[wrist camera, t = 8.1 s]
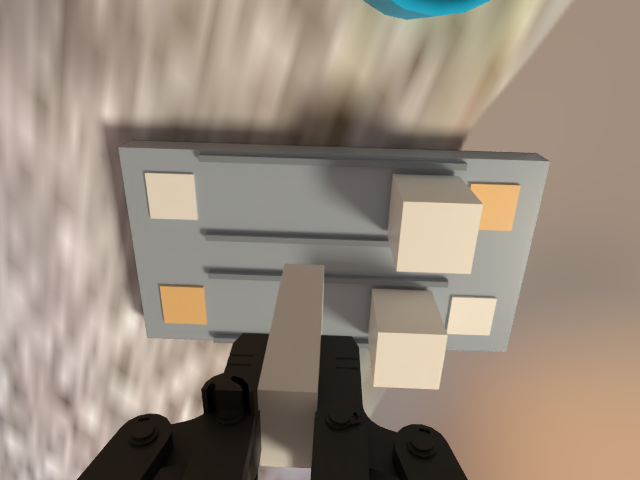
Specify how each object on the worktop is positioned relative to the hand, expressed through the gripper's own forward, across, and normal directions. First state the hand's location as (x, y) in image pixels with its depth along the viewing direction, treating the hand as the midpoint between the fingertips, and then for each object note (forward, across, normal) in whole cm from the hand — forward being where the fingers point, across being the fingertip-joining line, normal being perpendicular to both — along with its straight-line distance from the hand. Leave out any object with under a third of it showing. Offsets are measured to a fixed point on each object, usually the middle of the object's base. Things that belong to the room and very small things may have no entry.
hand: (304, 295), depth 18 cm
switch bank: (+14, +1, -5) cm, 15 cm away
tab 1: (+12, +6, -1) cm, 14 cm away
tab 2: (+12, +6, -9) cm, 16 cm away
